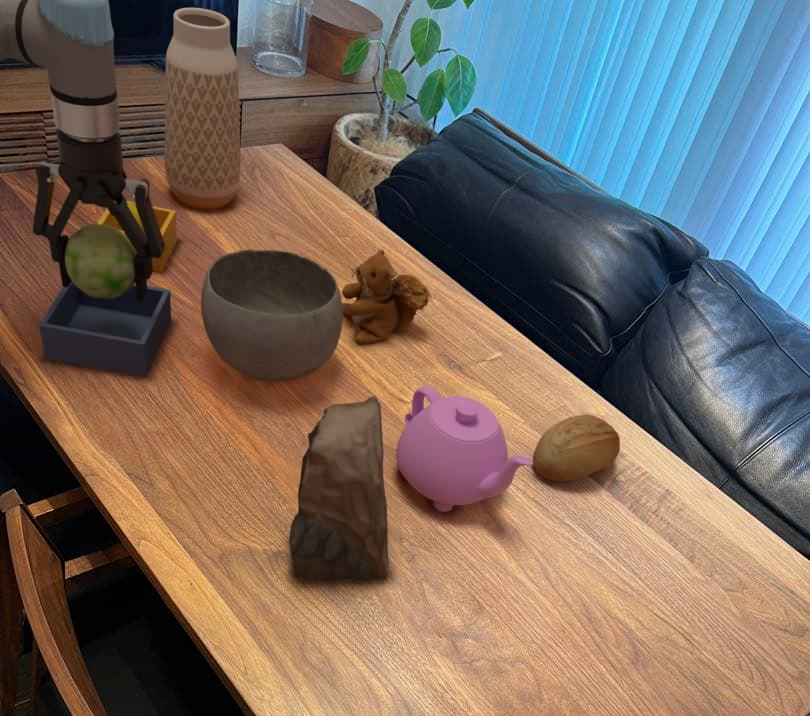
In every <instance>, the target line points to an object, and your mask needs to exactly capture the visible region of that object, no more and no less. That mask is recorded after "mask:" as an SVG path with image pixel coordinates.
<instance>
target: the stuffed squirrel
mask: <svg viewBox="0 0 810 716" xmlns="http://www.w3.org/2000/svg"><path fill="white" fill-rule="evenodd" d="M393 267H394V266H392V264H391V262H390V261H389V259H388V257H387V256H386V255H385V250H384V249H383V248H380V249H379V250H377V252H376V253H375V254H372V255H370V256H369V257H368V258H367V259H366V260H365V261H364V262H363V263H361V264H359V265H358V266H357V267H355V268H353V269H352V270H351V272H353V273H352V275H351V278H353V277H354V276H355V275H356V277H355V278H356V280H357V282H354V283H347V284H346V285H344V286H343V288H342V290H341V291H342V292H341V293H342V296H343V298H345V299H348V300H352V299H355V300H354V301H353V302H352V303H348V302H342V306H343V317H346V318H349V319H352V322H353V325H354V326H355V327H356V328H358V330H357V331H356V335H355V342H357V344H370V343H378V342H382V341H383V340H384V339H385V338H386V337H388V336H389V334H391V332H393V330H401V329H403V328H407V326H408V325H410V324H411V323H412V322H413V321H414V317H415V316H416V315H417V311H418V310H419V311H422V312H424V308H425V307H427V306H428V304H429V303H430V300H429V298H430V299H431V298H432V297H433V295H431V293H430V290H428V288H427V286H426V285H425V284H423V283H422V281H421V280H420V279H419V278H417V277H416V276H415V275H411V274H409V275H408V274H406V273H404V274H398V272H397V271H396V270H395V269H394V268H393Z"/></svg>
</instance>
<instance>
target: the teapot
mask: <svg viewBox="0 0 810 716" xmlns="http://www.w3.org/2000/svg"><path fill="white" fill-rule="evenodd" d="M425 398H426V399H427V400H428V402H429V405H427V406H425ZM424 406H425V408H424ZM404 422H405V425H406V426H405V428H404V429H403V430H402V431H401V432H402V433H401V434H400V436H399V439H398V441H397V445H396V448H395V460H396V464H397V467H398V469H399V471H400V473H401V475H402V477H403V478H404V479H405V480H406V482H407V483H409V485H410V486H411V487H412V488H413V489H414V490H415V491H417V493H419V494H421V495H422V496H423V497H425V498H427V499H428V500H430V501H432V503H433V504H432V505H433V507H434V508H435V509H436V510H438V511H440V512H444V513H445V512H450V511H451V510H452V509H453V506H466V505H471V504H475V503H478V502H481V501H483V500H486V499H488V498H492V497H495V496H499V495H501V494H502V493H504V492H505V491H506V490H508V489H509V487H510V486H511V485H512V482H513V480H514V478H515V475H516V472H517V471H518V469H519V468H520V467H523V466H531V465H534V462H533V460H531V459H530V458H528V457H526V456H523V455H512V456H510V457H509V451H508V445H507V440H506V437H505V434H504V430H503V428H502V426H501V423H500V422H499V420H498V418H497V416H496V415H495V413H494V412H493V411H492V409H490V408H489V407H488V406H486V405H485V404H484V403H482V402H480V401H479V400H476V399H474V398H470V397H467V396H463V395H449V396H444V397H441V395H440V394H439V392H438V391H437V390H436V389H435V388H433V387H431V386H428V385H427V386H426V385H425V386H424V385H423V386H420V387H418V388H417V389H416V390H415V391H414V393H413V397H412V401H411V410H410V411H408V412H406V414H405V416H404Z"/></svg>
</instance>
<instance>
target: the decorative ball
mask: <svg viewBox="0 0 810 716" xmlns="http://www.w3.org/2000/svg"><path fill="white" fill-rule="evenodd" d="M136 255H137V253H136V250H135V249H134V247H133V246H132V244H131V242H130V241H129V239H128V237H127V236H126V235H125V234H124V233H123V232H121V231H120V230H118V229H116V228H113V227H112V226H108V225H104V224H103V225H101V224H97V223H90V224H88V225H84V226H81V228H79V229H77V231H75V232H73V233H72V234H71V235H70V236H69V240H68V243H67V246H66V250H65V265H66V269H67V273H68V275H69V277H70V278H71V280H72V281H73V283H74V285H75V286H76V287H77V288H79V289H81V290H82V291H83V292H84V293H86V294H87V295H89V296H92V297H95V298H106V299H113V298H116V297H118V296H120V295H122V294H124V293H125V292H127V291H129V290H130V289H131V287H133V286H134V284H135V283H136V281H135V268H134V258H135V256H136Z"/></svg>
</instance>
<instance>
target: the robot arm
mask: <svg viewBox="0 0 810 716" xmlns="http://www.w3.org/2000/svg"><path fill="white" fill-rule="evenodd" d="M111 17H112V16H111V10H110V2H109V0H0V62H1V61H4V60H6V59H14V60H17V61H21V62H24V63H27V64H30V65H33V66H36V67H39V68H44V69H46V70H47V71H46V72H47V77H48V84H49V88H50V96H51V97H50V98H51V105H52V106H51V107H52V112H53V121H54V125H55V127H56V131H55V135H56V142H57V149H58V156H59V157H58V158H59V160H60V163H59V164H58V163H52V161H50V160H49V159H48V158H44V159H43V160H42V161H41V162H40V163H39V164H38V165H37V167H36V168H35V173H36V178H37V182H38V187H37V195H36V202H35V209H34V217H33V223H32V233H33V234H34V235H35V236H38V237H39V236H42V237H44V238H46V239H47V240H48V243H49V250H50V254H51V255H50V256H51V259H52V261H53V262H54V263H58V266H59V272H60V280H61V286H62V288H63V287H67V288H68V287H69V285H70V283H71V282H72V280H71V278H70V277H69V275H68V273H67V269H66V265H65V250H66V246H67V243H68V240H69V238H70V236H69V235H66V234H63V232H64V230H65V228H66V227H67V224H68V222H69V220H70V218H71V216H72V215H73V212H74V211H75V209H76V207H77V205H78V204H79V202H81V204H85V205H95V206H98V207H100V208H104V209H108V210H109V212H110V214H111V215H112V216H114V217H115V218H116V220H117V221H118V223H119V225H120V226H121V228H122V229H123V231H124V233H125V234H126V236H127V237H128V239H129V241H130V242H131V244H132V246H133V247H134V249H135V250H136V252H137V255H136V256H135V258H134V268H135V281H136V294H137V301H143V299H144V297H145V295H146V293H147V286H148V280H150V279H151V277H152V274H153V273H154V271H153V264H152V258H153V257H155V258H160V257H161V255H162V253H163V251H164V249H165V243H164V240H163V237H162V234H161V231H160V228H159V225H158V222H157V219H156V216H155V213H154V209H153V206H154V205H153V204H152V201H151V198H150V187H151V186H150V185H151V184H150V181H149V180H148V179H147V178H141V180H137V179H132V178H128V175H127V174H126V171H125V169H124V163H123V162H124V161H123V160H124V159H123V148H122V136H121V133H120V132H119V131H120V129H121V127H120V124H121V123H120V111H119V110H120V109H119V98H118V91H117V84H116V83H117V80H116V67H115V49H114V39H115V31H114V28H113V25H112V18H111ZM58 177H60V179H61V180H62V181H63V182H64V184H65V185H66V186H67V187H68V189H69V192H68V194H67V196H66V198H65V200H64V202H63V204H62V207H61V208H60V210H59V212H58V214H57V216H56V218H55V220H54V222H53V224H50V223H49V221H50V217H51V216H50V215H51V209H52V201H53V196H54V191H55V190H54V188H55V182H56V181H57V179H58ZM125 189H126V190H127V191H128V192H129V193H130V197H131V199H133V200H134V202H135V204H136V208H137V211H138V214H139V217H140V220H141V223H142V226H143V229H144V232H145V234H144V232H143V231H142V229H141V227H140V226H139V224H138V222H137V220H136V219H135V217H134V215H133V214H132V212H131V210H130V209H129V207H128V205H127V201H128V200H127V199H126V197H125V195H124V194H123V192H124V191H125ZM145 235H146V236H145Z"/></svg>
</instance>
